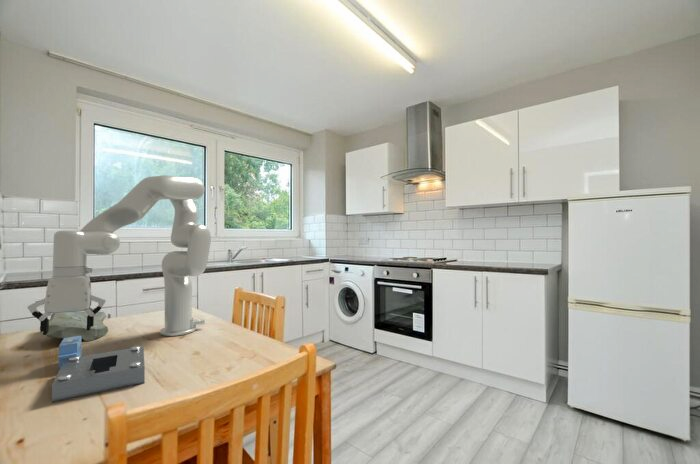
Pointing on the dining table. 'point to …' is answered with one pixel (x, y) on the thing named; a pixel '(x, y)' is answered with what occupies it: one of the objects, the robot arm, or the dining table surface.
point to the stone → (76, 325)
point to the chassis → (99, 373)
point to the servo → (69, 349)
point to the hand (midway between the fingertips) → (67, 331)
